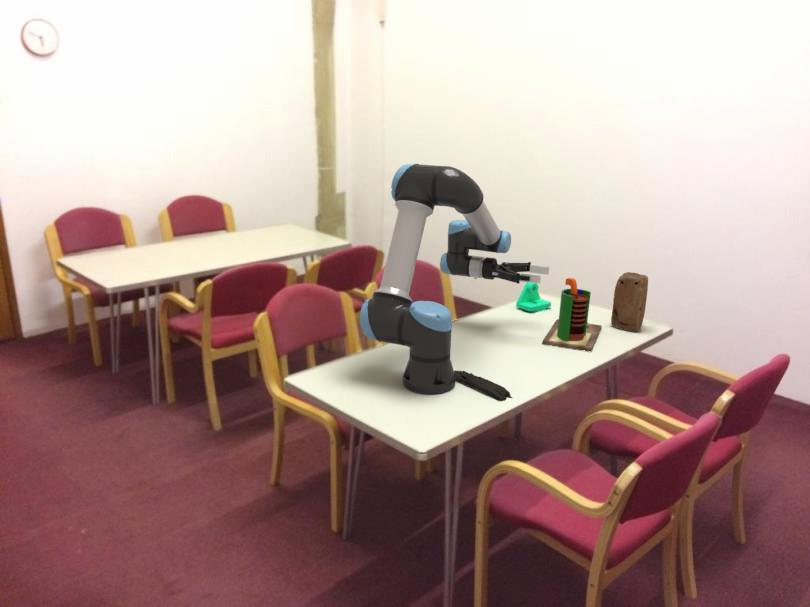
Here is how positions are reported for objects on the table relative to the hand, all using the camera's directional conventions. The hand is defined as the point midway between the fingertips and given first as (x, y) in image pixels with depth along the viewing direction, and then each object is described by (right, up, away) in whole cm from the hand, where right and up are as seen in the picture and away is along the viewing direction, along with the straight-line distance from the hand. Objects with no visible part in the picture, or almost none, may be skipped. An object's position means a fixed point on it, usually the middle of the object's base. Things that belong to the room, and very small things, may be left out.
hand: (544, 274), depth 227 cm
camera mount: (+3, -12, +36) cm, 38 cm away
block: (+32, -19, +16) cm, 40 cm away
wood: (-25, -34, -34) cm, 54 cm away
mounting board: (+11, -21, +6) cm, 25 cm away
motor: (+9, -21, +2) cm, 23 cm away
